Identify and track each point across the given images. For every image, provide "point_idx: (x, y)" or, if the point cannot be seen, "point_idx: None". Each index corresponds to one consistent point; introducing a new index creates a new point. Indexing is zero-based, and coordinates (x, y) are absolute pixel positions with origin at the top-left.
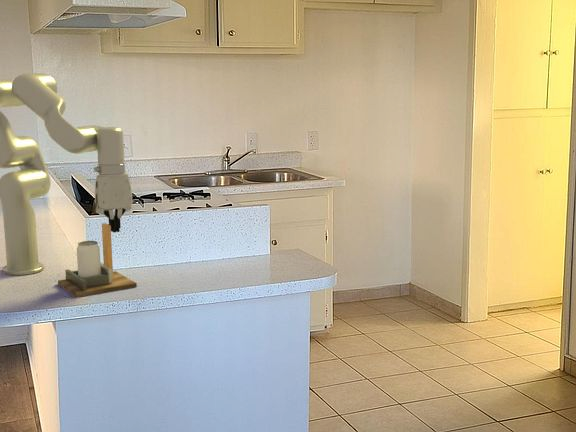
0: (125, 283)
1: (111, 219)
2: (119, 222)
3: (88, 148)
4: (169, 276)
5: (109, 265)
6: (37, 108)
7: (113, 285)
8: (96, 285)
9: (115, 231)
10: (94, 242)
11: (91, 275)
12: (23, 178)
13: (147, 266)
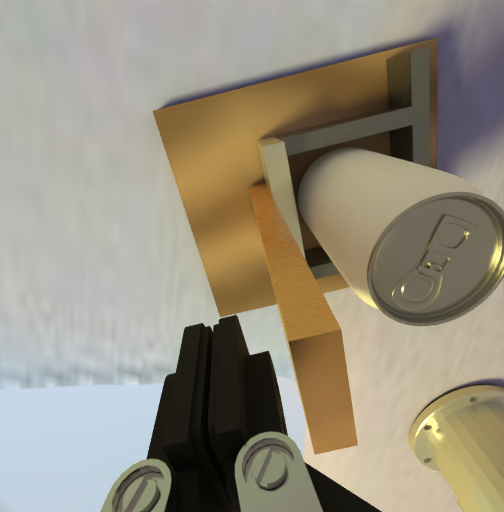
0: (202, 123)
1: (270, 446)
2: (165, 419)
3: None
4: (11, 227)
5: (269, 199)
6: None
7: (258, 109)
8: (331, 121)
9: (226, 318)
10: (376, 296)
11: (360, 150)
12: None
13: (102, 375)
